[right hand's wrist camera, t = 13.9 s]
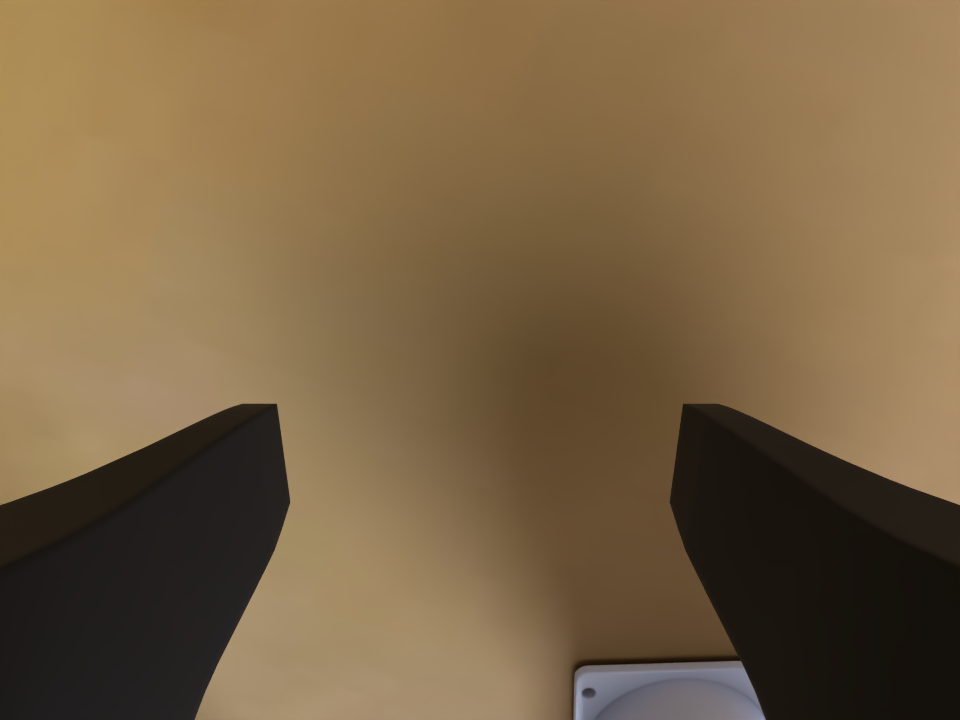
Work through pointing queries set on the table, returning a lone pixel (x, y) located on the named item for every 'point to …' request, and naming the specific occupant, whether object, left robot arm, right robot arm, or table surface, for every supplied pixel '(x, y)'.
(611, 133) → the table surface
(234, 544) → the right robot arm
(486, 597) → the table surface
